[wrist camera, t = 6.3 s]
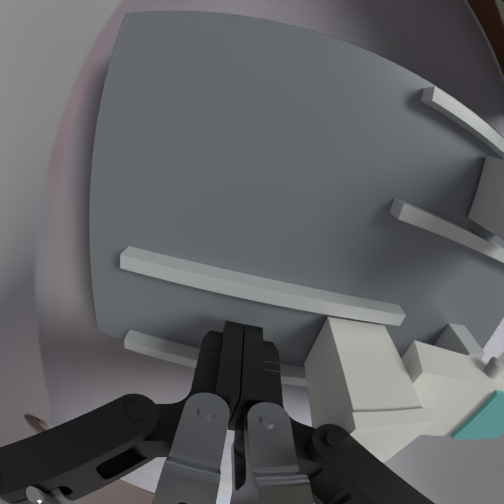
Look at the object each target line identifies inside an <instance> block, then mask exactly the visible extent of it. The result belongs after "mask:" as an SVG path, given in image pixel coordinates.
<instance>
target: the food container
mask: <svg viewBox="0 0 504 504" xmlns="http://www.w3.org/2000/svg"><path fill="white" fill-rule="evenodd" d="M463 1H464V2H465V4H466V5H467V7H468V9H469V10H470V12H471V14H472V16H473V17H474V19H475V21H476V23H477V25H478V27H479V29H480V30H481V32H482V34H483V36H484V39H485V41H486V43H487V45H488V47H489V49H490V52H491V54H492V56H493V58H494V61H495V63H496V66H497V68H498V71H499V74H500V76H501V79H502V82H503V85H504V0H463Z"/></svg>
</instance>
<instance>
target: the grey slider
mask: <svg viewBox="0 0 504 504" xmlns="http://www.w3.org/2000/svg"><path fill="white" fill-rule="evenodd" d="M468 218H469V219H471V220H472V221H474V222H476V223H477V224H479V225H481V226H482V227H484V228H485V229H487V230H489V231H490V232H492V233H493V234H495V235H496V236H498V237H499V238H501V239H502V240H504V160H502V159H498V158H495V157H491V156H487V155H486V159H485V163H484V167H483V171H482V174H481V178H480V181H479V185H478V188H477V191H476V195H475V198H474V201H473V204H472V207H471V210H470V212H469V215H468Z"/></svg>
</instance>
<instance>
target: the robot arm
mask: <svg viewBox="0 0 504 504" xmlns="http://www.w3.org/2000/svg"><path fill="white" fill-rule="evenodd" d="M279 363H280V361H279V351H278V350H277V348H276V346H275V345H274V343H273V342H270V341H264V340H263V328H262V327H258V326H252V325H247V324H242V323H237V322H232V321H227V320H225V324H224V328H223V332H222V333H221V332H217V331H212V330H210V331H209V332H208V333H207V334H206V335H205V336H204V337H203V339H202V343H201V347H200V352H199V356H198V361H197V365H196V369H195V374H194V379H193V383H192V388H191V391H190V393H189V395H188V396H187V397H186V398H185V399H183V400H182V401H180V402H177V403H173V404H155V403H154V402H153V401H152V400H151V399H149V398H148V397H146V396H143V395H140V394H127V395H124V396H122V397H120V398H118V399H116V400H114V401H112V402H110V403H108V404H106V405H103V406H101V407H99V408H97V409H95V410H93V411H91V412H88V413H86V414H84V415H82V416H79V417H77V418H75V419H73V420H70V421H68V422H66V423H63V424H61V425H59V426H56V427H54V428H51V429H49V430H46V431H44V432H41V433H39V434H36V435H34V436H31V437H28V438H26V439H23V440H20V441H18V442H15V443H12V444H9V445H6V446H3V447H0V500H1V502H2V504H75V503H74V500H76V499H79V498H81V497H83V496H85V495H88V494H89V493H92V492H94V491H96V490H98V489H100V488H102V487H104V486H106V485H108V484H110V483H112V482H114V481H116V480H118V479H120V478H122V477H123V476H125V475H127V474H129V473H131V472H132V471H134V470H136V469H138V468H139V467H141V466H143V465H144V464H146V463H148V462H149V461H151V460H153V459H154V458H156V457H167V458H166V460H165V463H164V466H163V468H162V472H161V475H160V478H159V481H158V485H157V488H156V491H155V494H154V498H153V501H152V504H216V499H217V493H218V488H219V482H220V475H221V471H220V465H221V460H222V454H223V449H224V443H225V438H226V433H227V427H228V430H234V431H235V437H234V442H233V444H232V447H231V458H232V496H231V501H230V504H314V503H315V504H434V503H433V502H432V501H430V500H429V499H428V498H426V497H425V496H424V495H422V494H421V493H420V492H418V491H417V490H416V489H414V488H413V487H412V486H411V485H409V484H408V483H407V482H405V481H404V480H403V479H402V478H400V477H399V476H398V475H397V474H395V473H394V472H393V471H392V470H390V469H389V468H388V467H387V466H386V465H384V464H383V463H382V462H381V461H380V460H378V459H377V458H376V457H375V456H374V455H373V454H371V453H370V452H369V451H368V450H367V449H366V448H365V447H363V446H362V445H361V444H360V443H359V442H358V441H357V440H355V439H354V438H353V437H352V436H351V435H349V433H348V432H346V431H345V430H344V429H343V428H342V427H340V426H338V425H335V424H323V425H321V426H319V427H318V428H317V429H316V428H313V427H310V426H307V425H304V424H301V423H298V422H296V421H295V420H293V419H292V418H291V417H290V416H289V415H288V413H287V412H286V411H285V410H284V407H283V400H282V387H281V373H280V364H279Z"/></svg>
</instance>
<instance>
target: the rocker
mask: <svg viewBox="0 0 504 504" xmlns="http://www.w3.org/2000/svg"><path fill="white" fill-rule="evenodd" d="M401 360H402V362H403V364H404V366H405V368H406V370H407V373H408V375H409V377H410V379H411V381H412V384H413V386H414V388H415V390H416V393H417V395H418V397H419V400H420V402H421V404H422V407H423V408H427V407H431V408H432V410H433V413H434V415H435V417H436V420H435V421H434V422H433V423H432V424H431V425H430V426H429V427H428V428H427V429H426V430H424V431H423V432H422V433H421V434H422V435H434V436H449V437H451V438H452V439H493V438H498V436H500V435H501V434H502V433H503V432H504V365H503V364H502V363H501V362H500V361H499V360H498V359H497V358H495V357H492V358H491V359H490V361H487V360H483V359H479V358H475V357H471V356H468V355H464V354H460V353H457V352H453V351H450V350H446V349H443V348H439V347H436V346H432V345H429V344H425V343H422V342H419V341H415V340H414V341H413V343H412V344H411V346H410V347H409V349H408V350H407V352H406V353H405V354H404V356H403V357H402V359H401Z"/></svg>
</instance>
